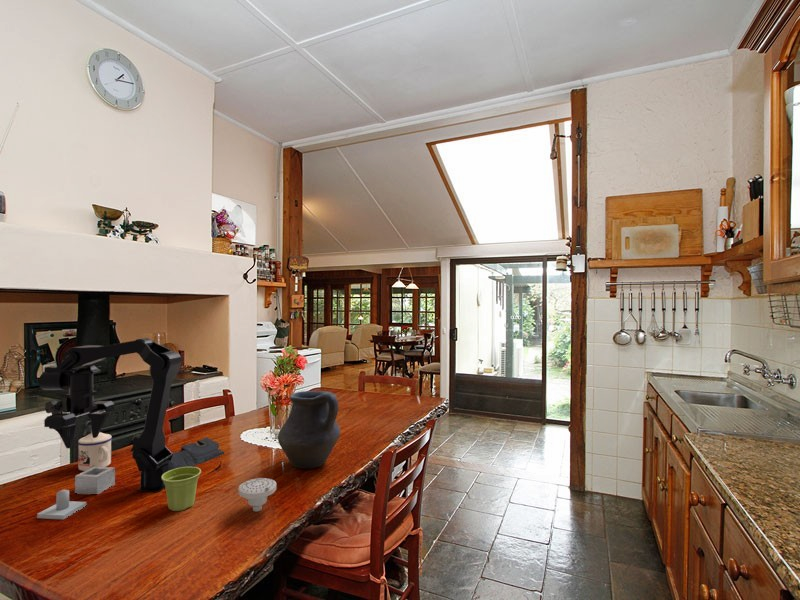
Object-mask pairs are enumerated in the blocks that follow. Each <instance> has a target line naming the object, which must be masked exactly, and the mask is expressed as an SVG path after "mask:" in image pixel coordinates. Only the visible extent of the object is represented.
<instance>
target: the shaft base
mask: <svg viewBox="0 0 800 600" xmlns="http://www.w3.org/2000/svg"><path fill="white" fill-rule="evenodd" d="M55 495H56V497H55V499H56V500H55V504H53V505H51V506H50V507H48V508H46V509H44V510H42V511H40V512H38V513H37V515H36V518H37V519H46V520H47V519H48V520H66V519H67V518H69V517H70V516H72V515H74V514H75V513H77V512H79V511H80V510H82V509H84V508H86V507H87V506H86V505H88V503H87V501H74V500H72V501H71V500H70V490H69V489H61V490H59V491H57V492H56V494H55ZM85 506H86V507H85ZM83 507H84V508H83ZM78 510H79V511H78ZM76 511H77V512H76ZM73 513H74V514H73ZM68 516H69V517H68Z"/></svg>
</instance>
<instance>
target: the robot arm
mask: <svg viewBox="0 0 800 600" xmlns="http://www.w3.org/2000/svg"><path fill="white" fill-rule="evenodd" d="M135 353H136V354H138V355H139V356H140V358H141V359H142V361H143V362H144V363H146V364H147V365H148V366H149V370H150V371H149V374H150V377H151V380H152V387H151V391H150V397H149V403H148V407H147V412H146V415H145V416H146V417H145V422H144V423H145V424H144V427H143V431H142V432H141V433H140V434H137V435H135V436H134V437H133V439H132V447H131V449H130V452H132V455H131V456H132V459H133V460H134V461H135V464H136V467H137V469H138V472H140V478H139V479H140V482H139V483H140V484H139V485H140V487H139V488H137V491H138V492H157V493H158V492H161V491H162V490H164V489H166V488H165V485H164V482H163V480H162V478H161V477H162V475H163V474H164V473H166V472H168V471H169V464H167V462H169V461H171V459H172V457H173V453H174V452H172V451H171V450H170V449H169V448H168V447H167V446H166V436H165V434H164V431H163V430H164V429H163V427H164V424H165V418H166V413H167V407H168V403H169V399H170V393H171V389H172V388H171V387H172V384H173V381H174V380H175V379H176V377H177V375H178V374H179V372H180V369H181V366H182V364H183V358H182V356H181V354H180V353H179V352H177V351H175V350H171V349H170V348H169V347H166V346H164V345H162V344H160V343H158V342H155V340H153V339H151V338H149V337H145V338H137V339H135V340H130V341H129V340H128V341H123V342H118V343H114V344H113V343H112V344H107V345H98V344H97V345H92V344H91V345H81V346H74V347H69V348H68V349H66V351H65V353H64V355H63V358H62V359H61V360H60V361H59V363H58V364H57V366H55V365H51V366H46V367H44V369H43V370H44V371H43V372H42V373H41V374H40V376H39V379H38V380H37V381H38V387H39V388H40V389H41V390H43V391H57V390H58V391H59V390H60V391H61V390H62V391H64V390H68V393H65V395H64V397H63V400H61V401H57V400H56V399H53V400H49V401H46V402H45V403H44V404H45V405H44V410H45V413H46V414H50V415H47V416H46V417H45V418H44V420H43V421H44V423H43V424H44V428H49V429H50V430H54V431H55V432H57V433H58V435H59V436H60V438H61V440H62V442H63V444H64V446H65V448H66V449H71V448H72V445H73V442H74V438H75V433H76V429H77V423H76V421H77V419H79V418H82V417H85V416H87V417H88V418H89V419H90V423H91V433H92V436H93V438H97V436H98V434H99V432H101V430H102V429H103V427H104V424H105V422H106V421H107V420H108V418H109V416H110V415H111V414H112V412H113V411H115V402H114V401H112V400H98V401H95V399H94V396H96V395H98V390H94V374H98V373H101V372H102V370H101V369H100V368H98V367H97V366H96V365H95V364H96V363H98V362H101V361H103V360H105V359H107V358H113V357H119V356H125V355H132V354H135ZM88 365H89V366H88ZM85 366H87V367H85Z"/></svg>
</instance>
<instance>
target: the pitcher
mask: <svg viewBox="0 0 800 600" xmlns="http://www.w3.org/2000/svg"><path fill="white" fill-rule="evenodd" d="M289 399H290V401H291V403H292V404H291V409H290V412H289V414H288V417H287V418H286V421H285V422H284V424H283V425H282V427H281V428H280V430H279V431H278V434H277V441H278V444H279V446H280V448H281V450H282V451H283V453H284V454H285V456H286V458H287V460H288V461H289V463H290V465H292V466H293V467H294V468H299V469H304V470H308V469H309V470H310V469H311V470H312V469H315V468H320V467H322V466H323V465H324V464H325V463H326V461H327V459H328V458H329V457H330V455H331V453H332V451H333V449H334V448H335V446H336V444H337V442H338V440H339V438H340V436H341V427H340V425H339V423H337V421H336V420H337V416H338V412H339V405H340V404H339V400H338V397H337V395H336V394H335V393H333V392H330V391H325V390H324V391H323V390H322V391H321V390H320V391H319V390H305V391H304V390H303V391H298V392H294V393H293V394H291V395H290V396H289Z"/></svg>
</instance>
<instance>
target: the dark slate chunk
mask: <svg viewBox="0 0 800 600" xmlns="http://www.w3.org/2000/svg"><path fill="white" fill-rule="evenodd" d="M219 447H220V443H219V442H217V441H215V440H213V439H210V438H209V437H207V436H206V437H204V438H202V439H198V440H196V442H190V443H188V444H183V445H182V446H181V447H180V448H181V449H180V450H179V451H175V452H172V453H173V457H172V459H171V461H169V462H167V464H169V471H170V470H173V469H176V468H181V467H193V466H194V467H196V466H195V465H197V464H200V465H202V464H204V463H206V461H207V462H209V461H212V460H214V459H216V458H218V457H221V456H223V455H225V454H224V453H225V451H224V450H223V451H222V449H220V448H219ZM222 454H223V455H222ZM220 455H221V456H220ZM217 456H218V457H217ZM215 457H216V458H215ZM213 458H214V459H213ZM208 460H209V461H208ZM203 462H204V463H203ZM201 463H202V464H201ZM197 466H198V465H197Z"/></svg>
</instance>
